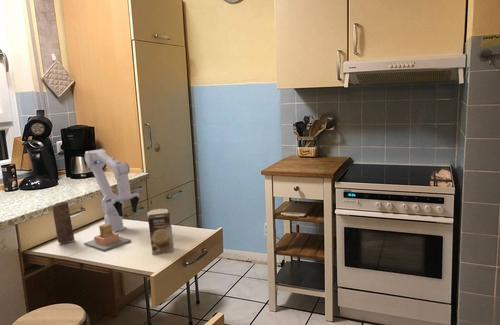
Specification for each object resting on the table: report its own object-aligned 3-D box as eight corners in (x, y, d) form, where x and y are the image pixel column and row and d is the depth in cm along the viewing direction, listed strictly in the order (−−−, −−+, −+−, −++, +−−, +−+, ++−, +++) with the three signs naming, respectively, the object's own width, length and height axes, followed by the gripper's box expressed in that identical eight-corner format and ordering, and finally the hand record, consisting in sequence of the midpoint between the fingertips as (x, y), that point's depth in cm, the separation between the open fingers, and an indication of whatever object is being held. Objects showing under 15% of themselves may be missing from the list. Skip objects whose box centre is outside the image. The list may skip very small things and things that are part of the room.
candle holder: (173, 231, 204) (170, 208, 202) (167, 238, 194) (164, 213, 193) (154, 232, 205) (151, 209, 203) (147, 239, 195) (144, 215, 194)
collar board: (84, 245, 196) (83, 236, 195) (110, 235, 206) (109, 228, 206) (104, 251, 184) (103, 243, 183) (131, 241, 194) (130, 233, 194)
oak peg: (101, 242, 195) (99, 225, 193) (109, 239, 198) (106, 223, 196) (106, 243, 192) (103, 226, 191) (113, 240, 195) (111, 224, 194)
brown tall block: (68, 245, 198) (61, 204, 195) (54, 245, 199) (47, 205, 196) (77, 239, 205) (71, 200, 202) (64, 239, 207) (58, 201, 204)
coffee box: (151, 255, 174) (147, 218, 172) (153, 250, 180) (148, 214, 178) (173, 252, 175) (169, 216, 173) (174, 247, 181) (170, 212, 179)
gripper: (114, 191, 195) (119, 219, 197) (141, 184, 206) (144, 211, 208) (107, 190, 200) (111, 217, 202) (133, 184, 210) (137, 209, 212)
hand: (127, 214), depth 205 cm, fingers open, 7 cm apart
